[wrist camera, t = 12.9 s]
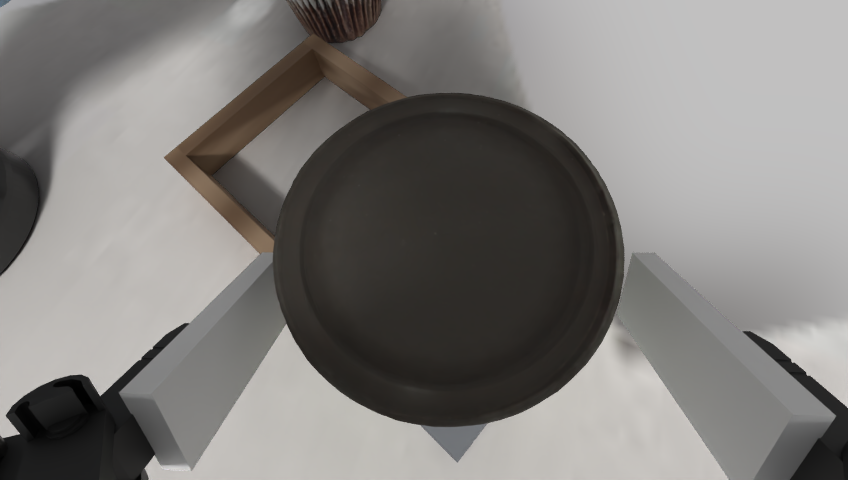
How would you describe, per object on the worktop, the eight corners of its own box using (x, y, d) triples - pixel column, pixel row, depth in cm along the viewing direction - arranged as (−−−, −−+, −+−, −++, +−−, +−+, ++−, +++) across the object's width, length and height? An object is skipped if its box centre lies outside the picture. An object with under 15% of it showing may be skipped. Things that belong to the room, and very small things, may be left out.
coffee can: (421, 423, 21) (374, 522, 8) (344, 282, 25) (221, 187, 11) (558, 330, 23) (712, 284, 9) (467, 207, 26) (486, 43, 13)
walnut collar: (191, 177, 29) (163, 157, 26) (325, 62, 32) (313, 33, 29) (314, 299, 25) (297, 291, 22) (454, 153, 28) (455, 130, 25)
